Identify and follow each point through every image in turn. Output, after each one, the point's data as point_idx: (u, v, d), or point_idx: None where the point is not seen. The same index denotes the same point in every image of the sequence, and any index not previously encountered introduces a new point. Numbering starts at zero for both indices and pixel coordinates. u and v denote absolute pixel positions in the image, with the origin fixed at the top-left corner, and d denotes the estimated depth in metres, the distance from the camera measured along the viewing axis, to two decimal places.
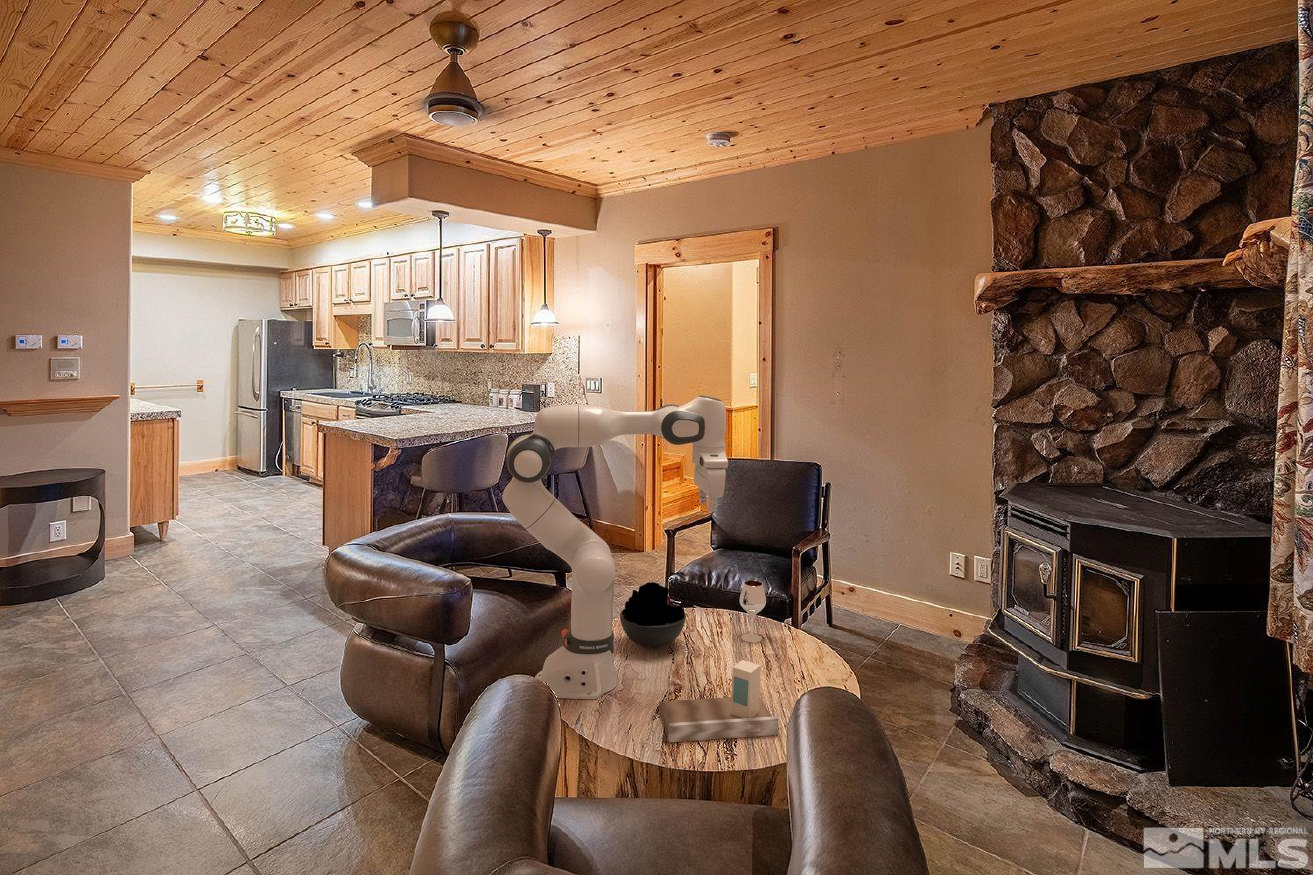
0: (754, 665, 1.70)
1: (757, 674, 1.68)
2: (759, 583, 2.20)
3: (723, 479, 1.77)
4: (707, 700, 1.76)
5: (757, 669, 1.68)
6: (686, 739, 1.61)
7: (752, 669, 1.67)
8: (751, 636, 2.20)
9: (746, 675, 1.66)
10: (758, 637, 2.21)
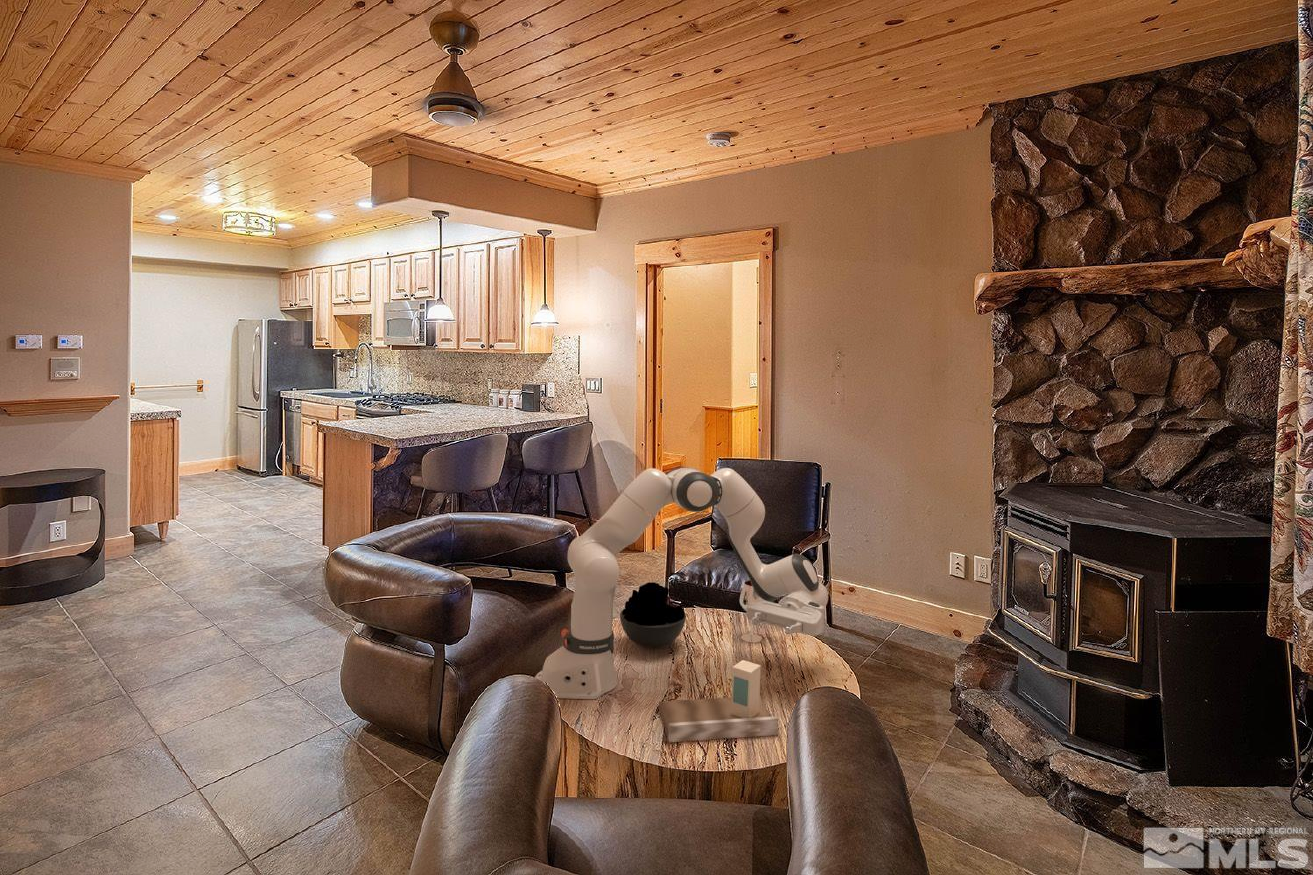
0: (754, 665, 1.70)
1: (757, 674, 1.68)
2: None
3: (820, 630, 1.80)
4: (707, 700, 1.76)
5: (757, 669, 1.68)
6: (686, 739, 1.61)
7: (752, 669, 1.67)
8: (751, 636, 2.20)
9: (746, 675, 1.66)
10: (758, 637, 2.21)
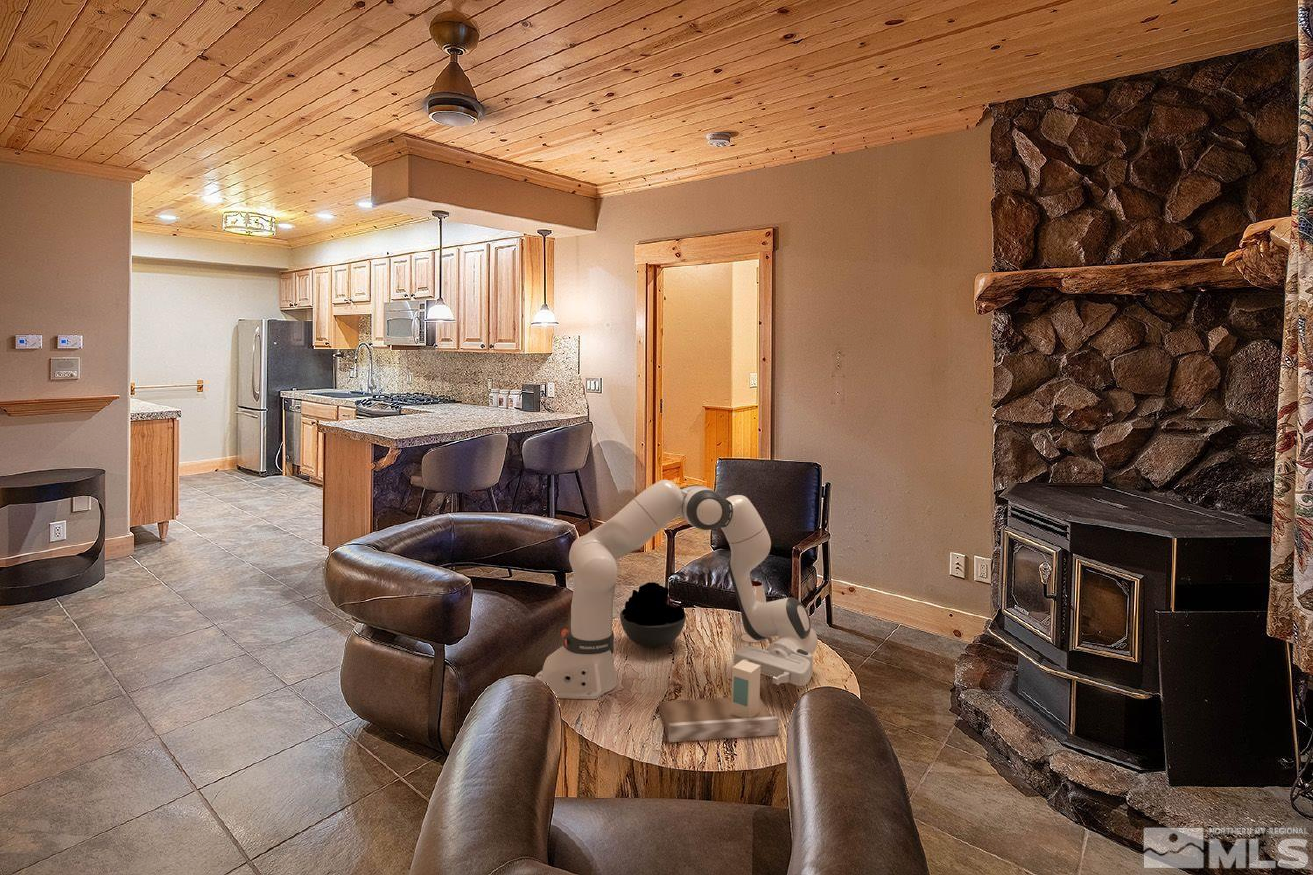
0: (754, 665, 1.70)
1: (757, 674, 1.68)
2: (759, 583, 2.20)
3: (809, 679, 1.77)
4: (707, 700, 1.76)
5: (757, 669, 1.68)
6: (686, 739, 1.61)
7: (752, 669, 1.67)
8: None
9: (746, 675, 1.66)
10: None
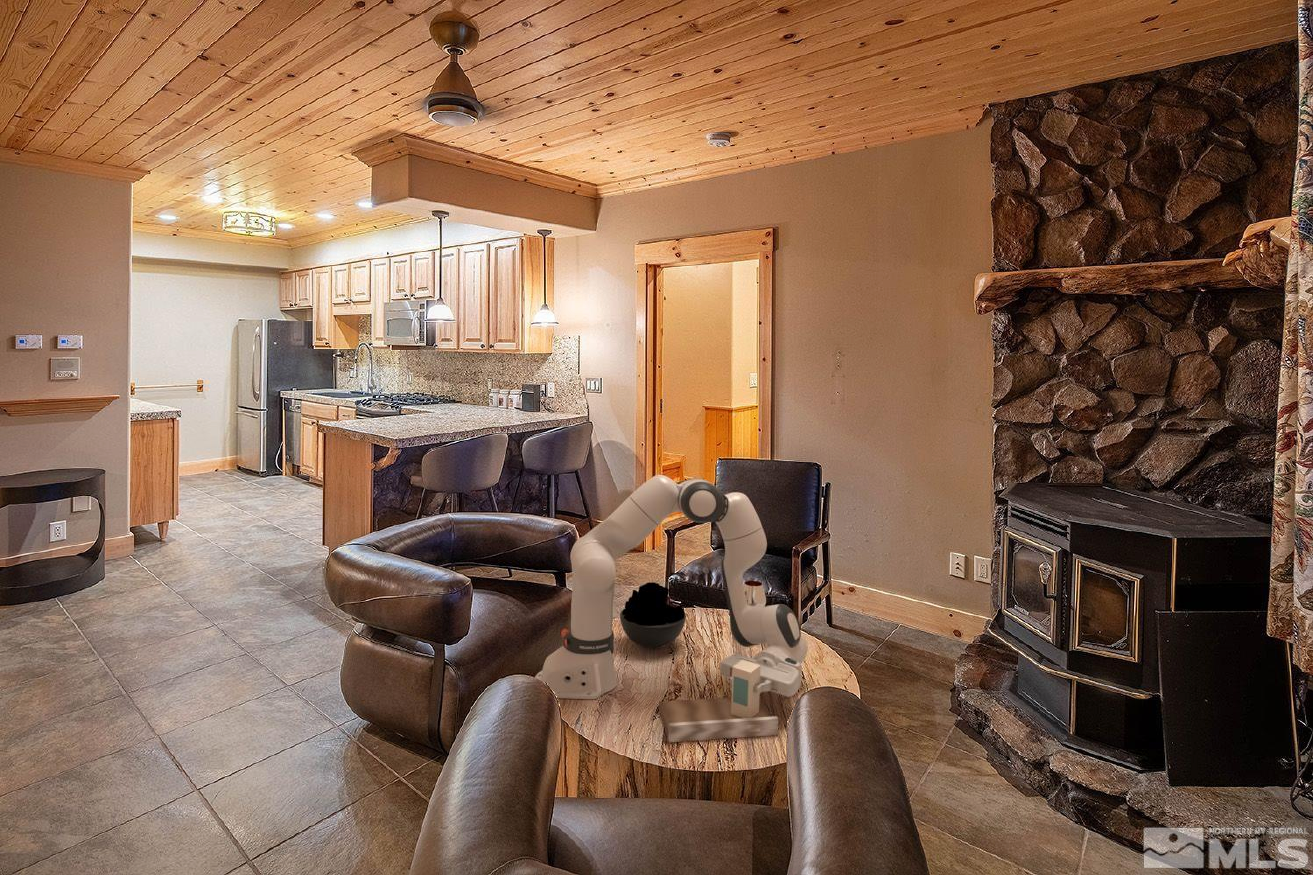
0: (754, 665, 1.70)
1: (756, 674, 1.68)
2: (759, 583, 2.20)
3: (797, 690, 1.71)
4: (707, 700, 1.76)
5: (757, 669, 1.68)
6: (686, 739, 1.61)
7: (752, 669, 1.67)
8: None
9: (746, 675, 1.66)
10: None
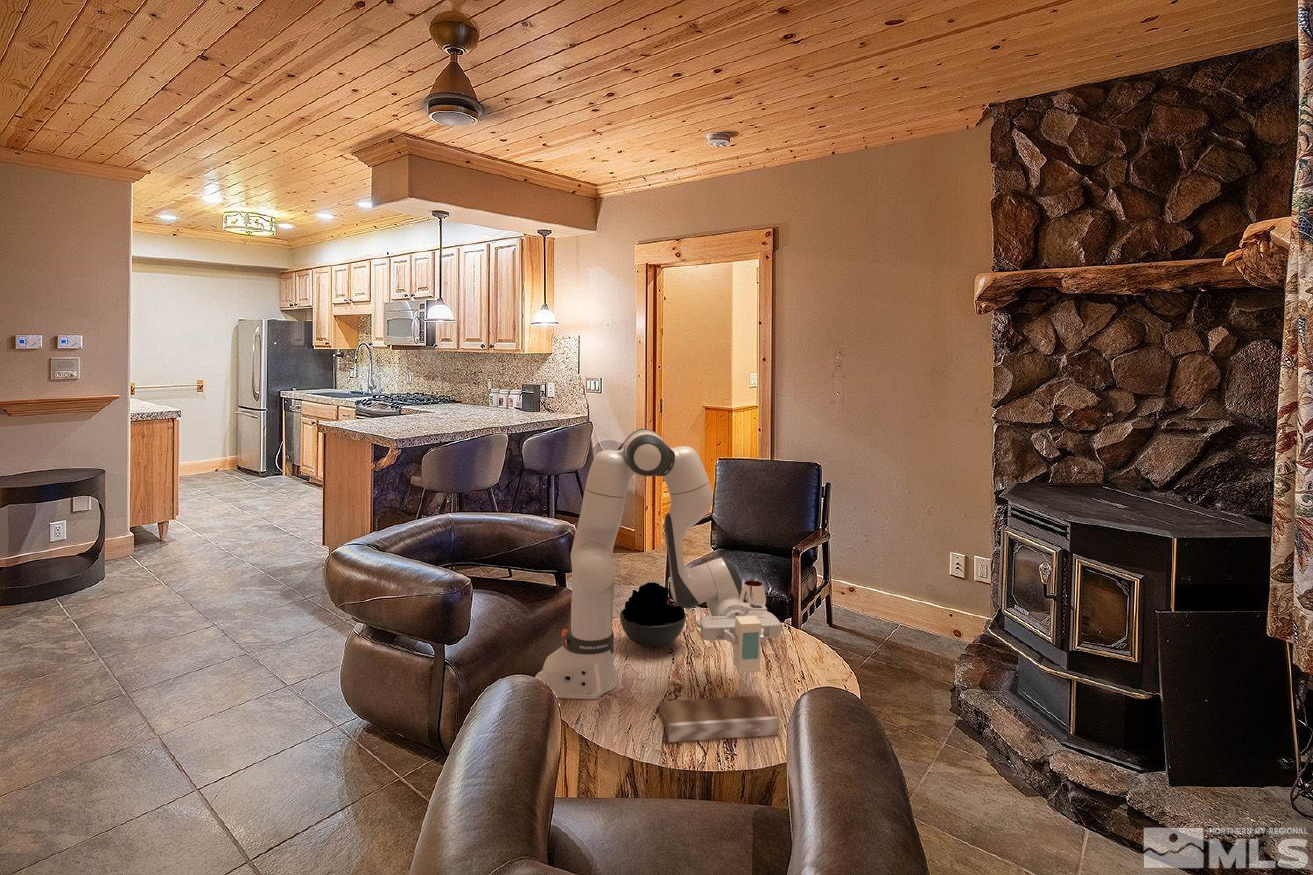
0: (751, 617, 1.69)
1: None
2: (759, 583, 2.20)
3: None
4: (707, 700, 1.76)
5: None
6: (686, 739, 1.61)
7: (756, 620, 1.67)
8: None
9: (756, 627, 1.65)
10: None
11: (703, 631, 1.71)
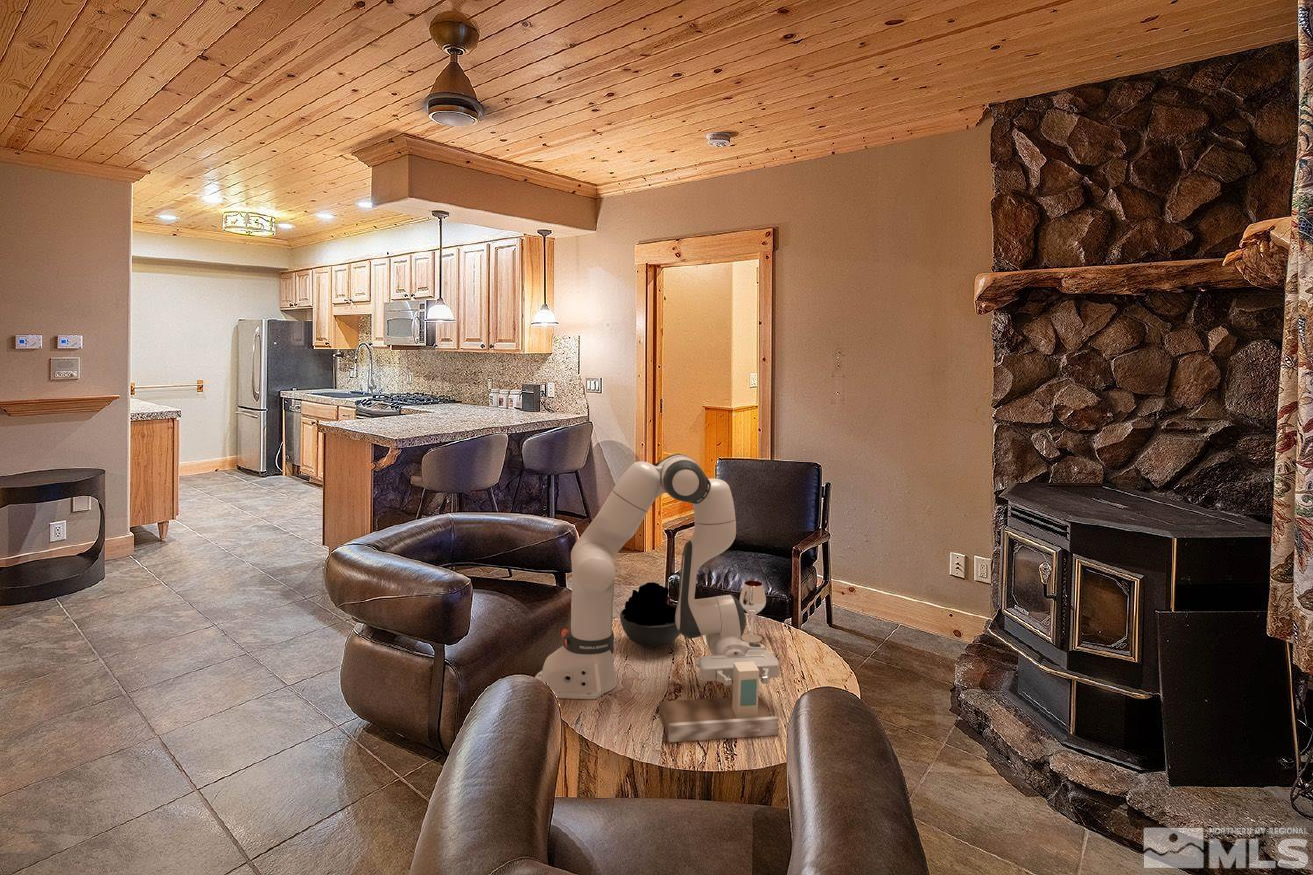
0: (749, 663, 1.71)
1: None
2: (759, 583, 2.20)
3: None
4: (707, 700, 1.76)
5: None
6: (686, 739, 1.61)
7: (754, 667, 1.69)
8: (751, 636, 2.20)
9: (754, 674, 1.67)
10: (758, 637, 2.21)
11: (702, 672, 1.72)
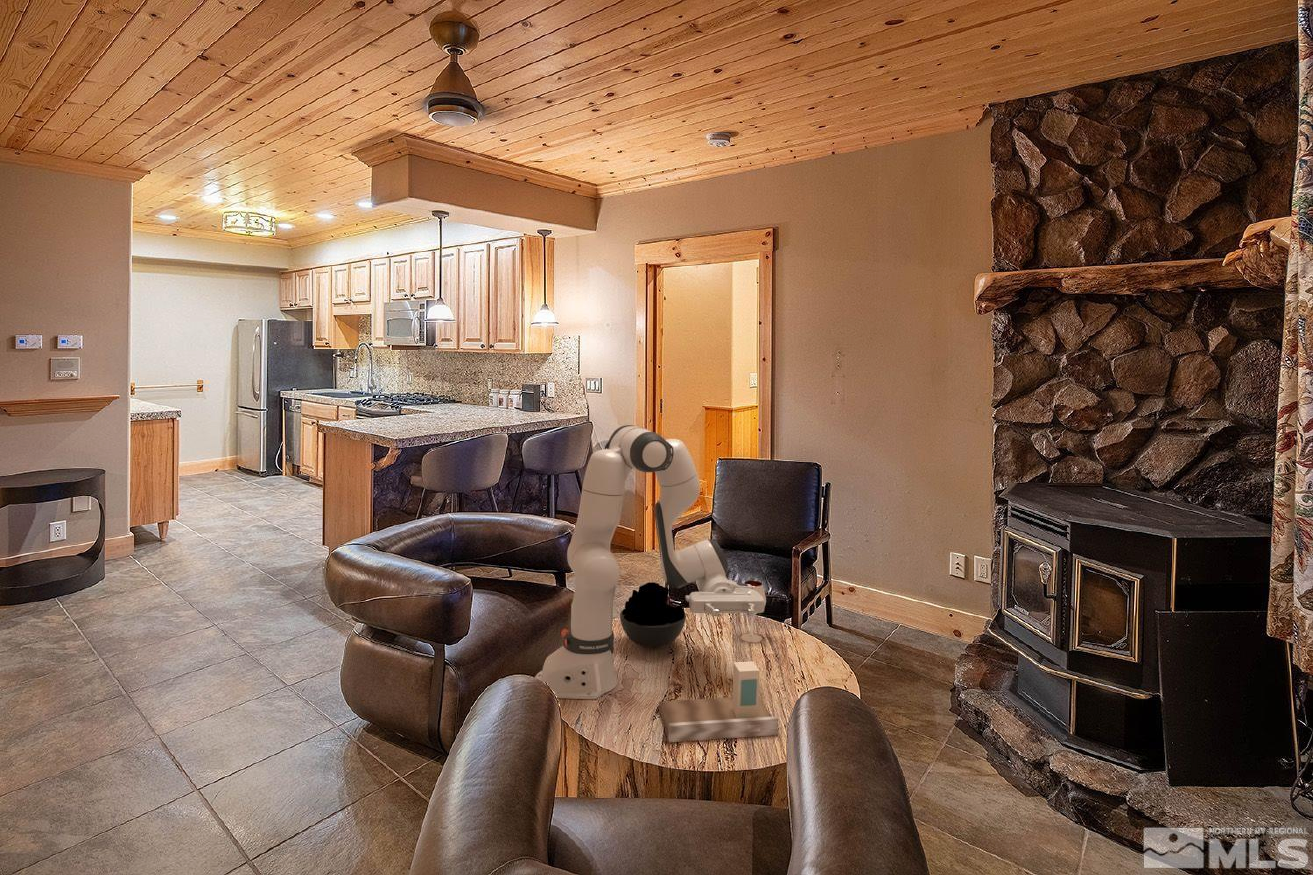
0: (749, 663, 1.71)
1: None
2: (759, 583, 2.20)
3: None
4: (707, 700, 1.76)
5: None
6: (686, 739, 1.61)
7: (755, 667, 1.69)
8: (751, 636, 2.20)
9: (754, 674, 1.67)
10: (758, 637, 2.21)
11: (692, 604, 1.83)
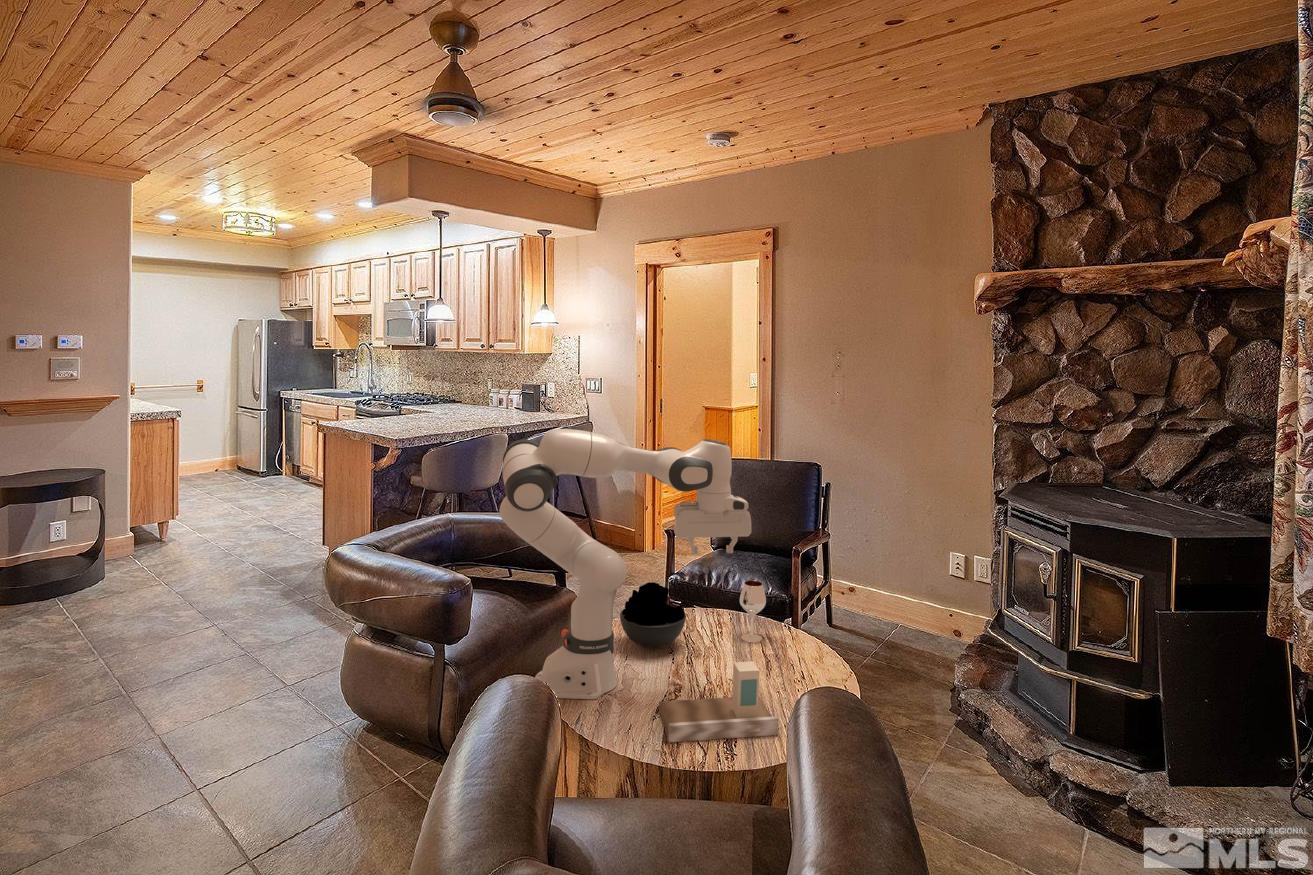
0: (749, 663, 1.71)
1: None
2: (759, 583, 2.20)
3: None
4: (707, 700, 1.76)
5: None
6: (686, 739, 1.61)
7: (755, 667, 1.69)
8: (751, 636, 2.20)
9: (754, 674, 1.67)
10: (758, 637, 2.21)
11: (675, 534, 1.81)
